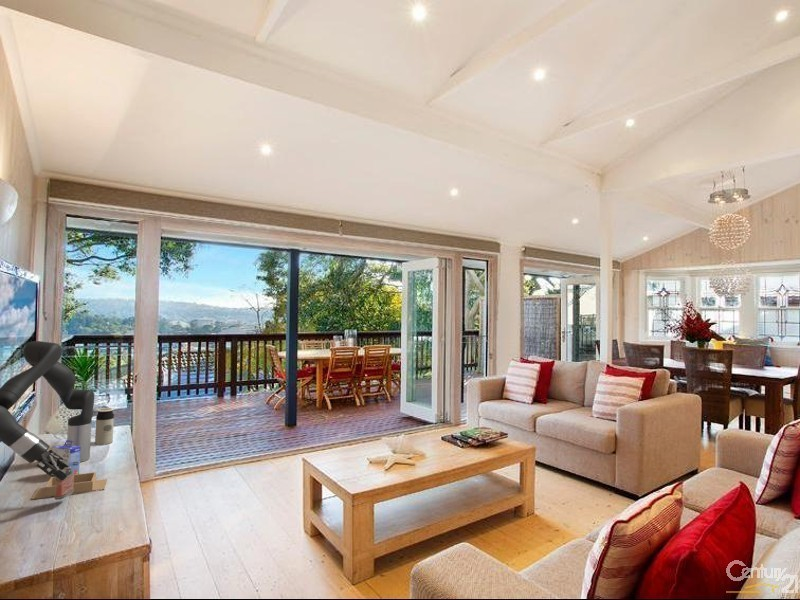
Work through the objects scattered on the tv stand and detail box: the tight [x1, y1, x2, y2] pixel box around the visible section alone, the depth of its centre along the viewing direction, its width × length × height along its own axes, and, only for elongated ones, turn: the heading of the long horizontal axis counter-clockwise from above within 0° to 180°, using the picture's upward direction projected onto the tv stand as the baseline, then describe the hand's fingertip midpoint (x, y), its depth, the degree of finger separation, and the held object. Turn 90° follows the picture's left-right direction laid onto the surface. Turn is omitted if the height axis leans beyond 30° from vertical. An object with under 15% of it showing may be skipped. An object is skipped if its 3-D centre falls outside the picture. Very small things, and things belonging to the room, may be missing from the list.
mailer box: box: [30, 471, 108, 500], centre depth 180 cm, size 15×23×4 cm, turn 119°
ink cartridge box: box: [51, 439, 81, 475], centre depth 193 cm, size 10×6×14 cm, turn 78°
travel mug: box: [94, 407, 115, 446], centre depth 239 cm, size 8×8×18 cm
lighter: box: [54, 467, 75, 501], centre depth 166 cm, size 8×3×10 cm, turn 5°
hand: (67, 474), depth 166 cm, fingers closed on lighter, 7 cm apart
